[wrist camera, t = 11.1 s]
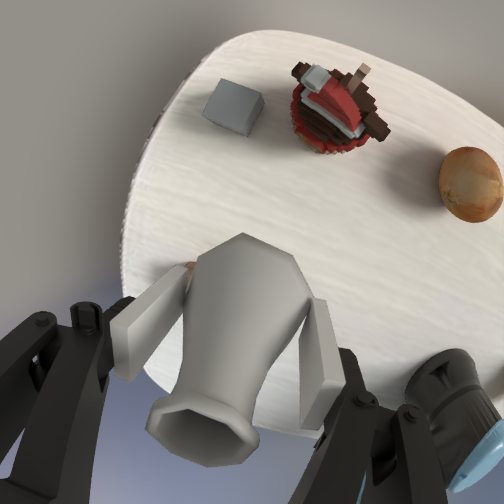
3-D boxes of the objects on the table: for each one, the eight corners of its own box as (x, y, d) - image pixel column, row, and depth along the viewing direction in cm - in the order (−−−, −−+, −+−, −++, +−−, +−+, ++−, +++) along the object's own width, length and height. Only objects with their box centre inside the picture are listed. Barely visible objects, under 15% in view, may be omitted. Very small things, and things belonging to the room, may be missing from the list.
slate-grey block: (247, 137, 33) (241, 131, 28) (212, 122, 33) (201, 115, 28) (264, 103, 32) (260, 92, 27) (229, 90, 32) (221, 78, 27)
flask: (165, 295, 17) (65, 402, 7) (242, 207, 15) (156, 268, 5) (252, 367, 17) (221, 503, 8) (337, 296, 15) (383, 441, 6)
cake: (380, 120, 30) (451, 82, 13) (340, 172, 33) (390, 171, 16) (314, 70, 29) (333, -8, 12) (272, 121, 32) (256, 70, 15)
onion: (413, 171, 31) (452, 172, 22) (456, 136, 29) (498, 130, 19) (444, 229, 32) (484, 247, 23) (484, 192, 30) (526, 200, 20)
